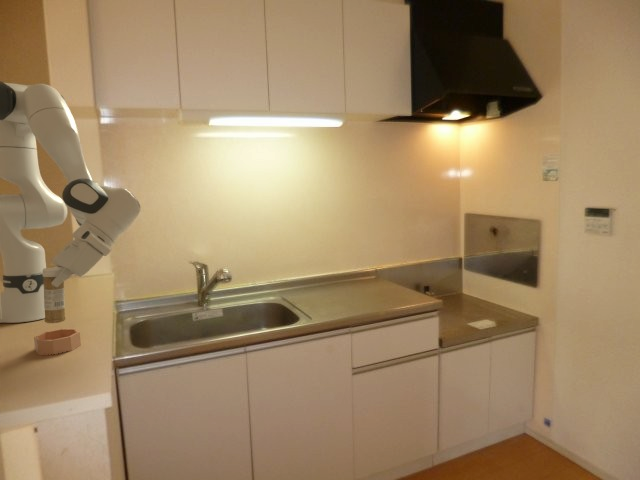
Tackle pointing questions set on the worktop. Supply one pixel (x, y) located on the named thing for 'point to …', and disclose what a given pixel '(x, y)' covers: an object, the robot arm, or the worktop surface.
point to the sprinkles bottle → (53, 296)
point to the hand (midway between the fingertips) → (50, 283)
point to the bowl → (57, 341)
